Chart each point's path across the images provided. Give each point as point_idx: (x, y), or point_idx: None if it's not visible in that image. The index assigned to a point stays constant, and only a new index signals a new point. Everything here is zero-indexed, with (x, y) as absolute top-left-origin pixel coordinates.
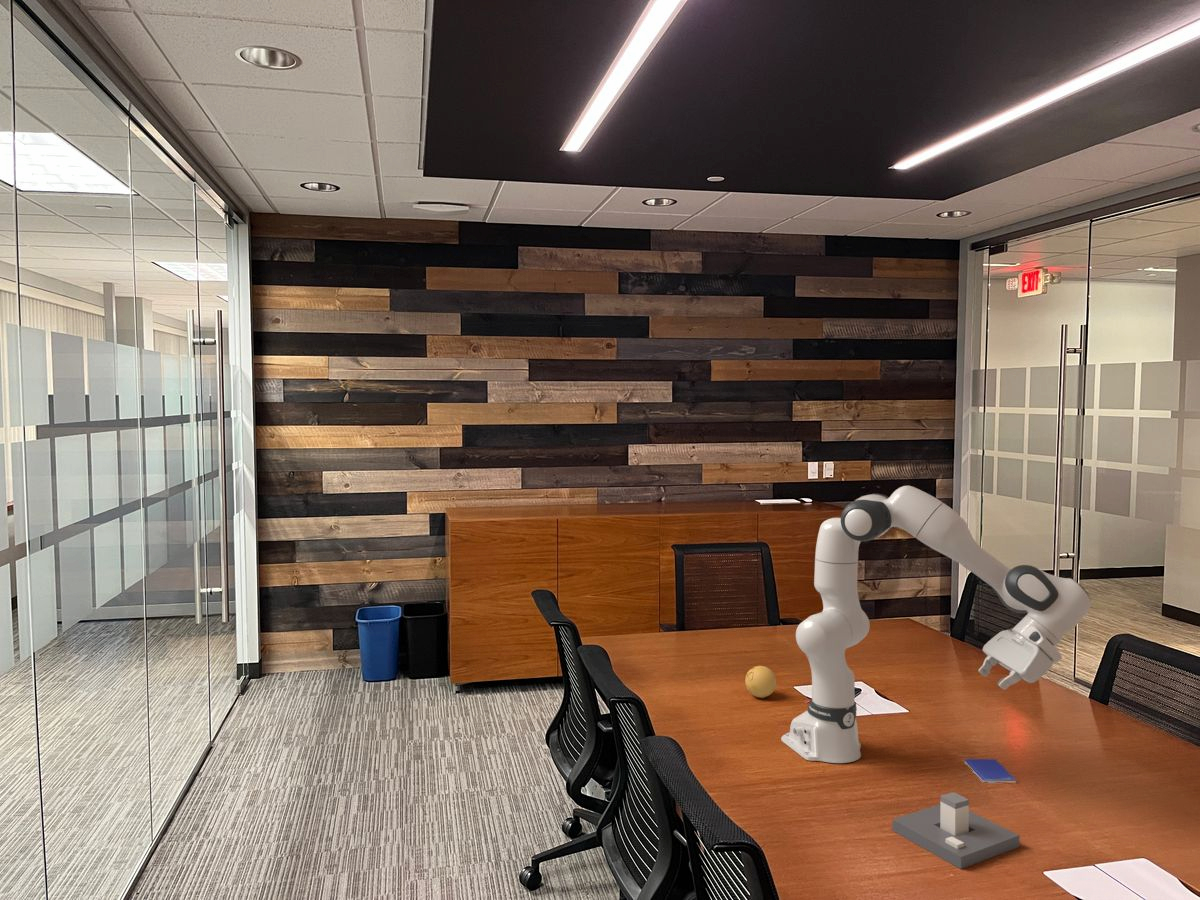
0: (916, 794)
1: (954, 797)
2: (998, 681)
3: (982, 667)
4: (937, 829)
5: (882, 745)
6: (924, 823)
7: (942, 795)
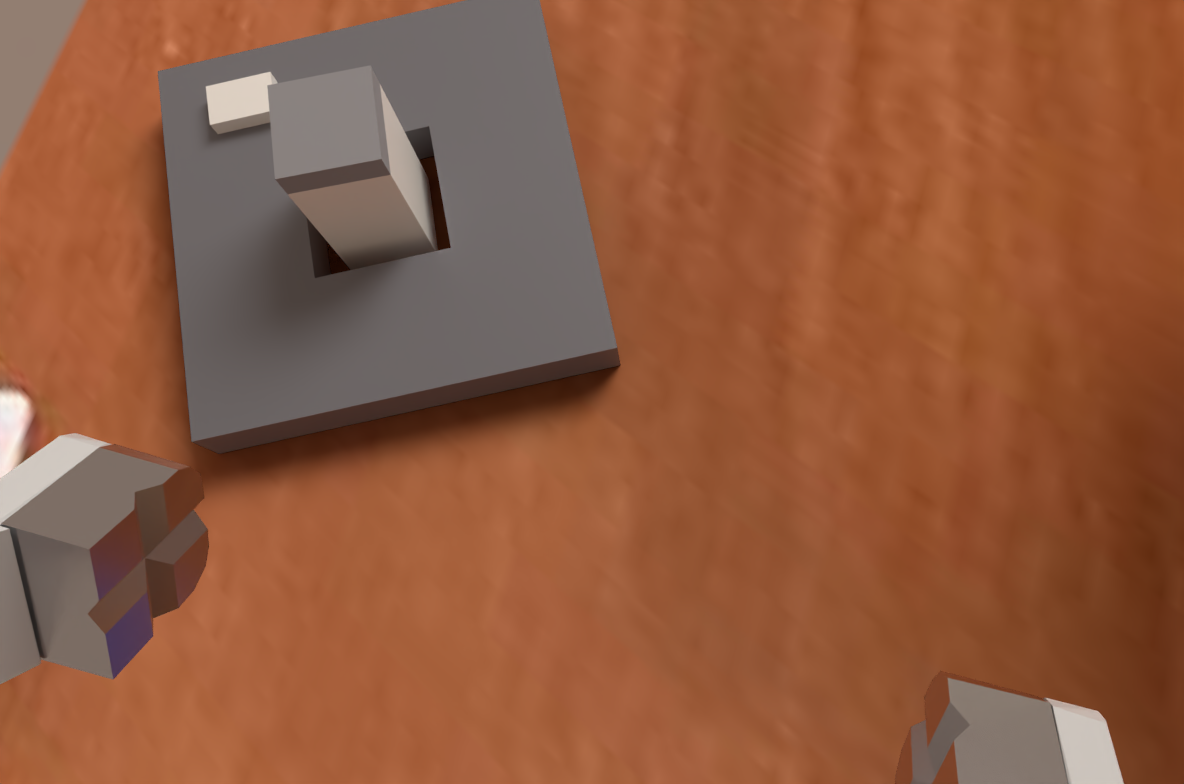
0: (844, 323)
1: (326, 122)
2: (152, 478)
3: (1053, 781)
4: None
5: None
6: (452, 92)
7: (370, 77)
